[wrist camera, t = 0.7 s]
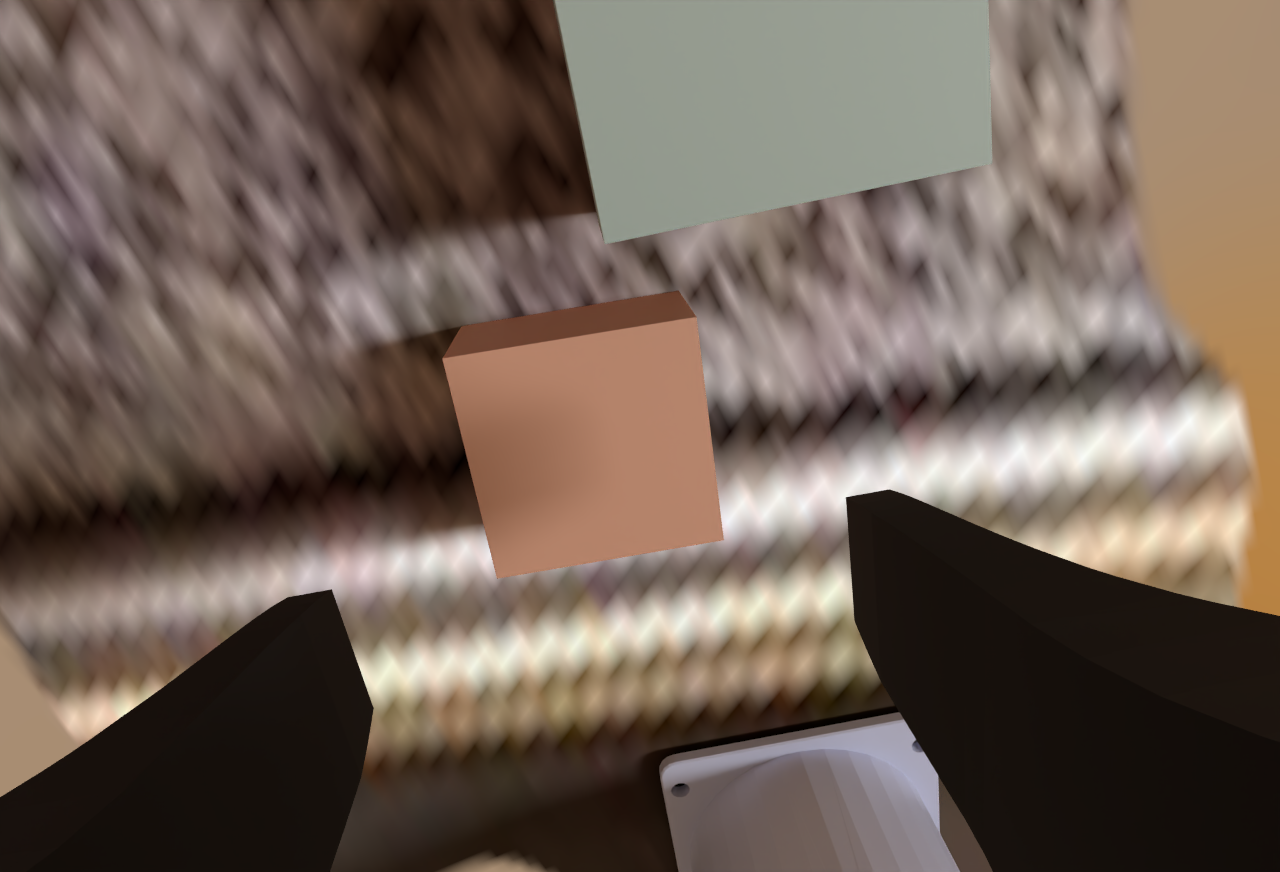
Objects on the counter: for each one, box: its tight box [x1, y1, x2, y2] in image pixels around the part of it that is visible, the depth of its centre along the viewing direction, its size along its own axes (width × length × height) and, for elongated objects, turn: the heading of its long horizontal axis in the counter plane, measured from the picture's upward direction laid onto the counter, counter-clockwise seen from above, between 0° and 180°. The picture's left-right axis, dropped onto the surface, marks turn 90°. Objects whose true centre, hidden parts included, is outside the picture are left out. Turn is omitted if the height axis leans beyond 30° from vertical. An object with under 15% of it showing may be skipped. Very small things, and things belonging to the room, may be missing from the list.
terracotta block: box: [442, 291, 724, 578], centre depth 18 cm, size 5×5×3 cm
